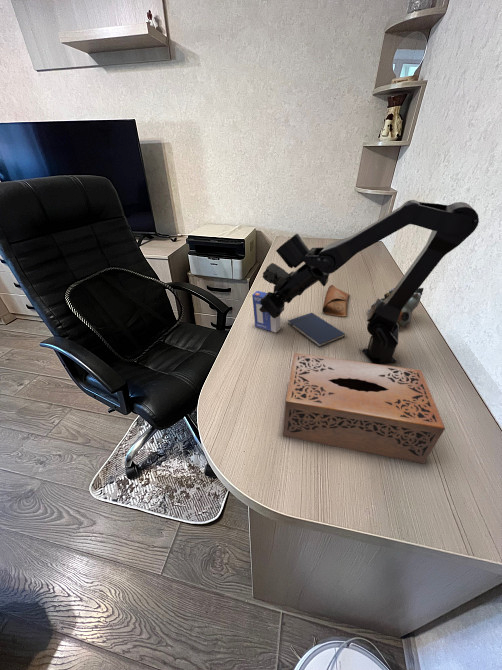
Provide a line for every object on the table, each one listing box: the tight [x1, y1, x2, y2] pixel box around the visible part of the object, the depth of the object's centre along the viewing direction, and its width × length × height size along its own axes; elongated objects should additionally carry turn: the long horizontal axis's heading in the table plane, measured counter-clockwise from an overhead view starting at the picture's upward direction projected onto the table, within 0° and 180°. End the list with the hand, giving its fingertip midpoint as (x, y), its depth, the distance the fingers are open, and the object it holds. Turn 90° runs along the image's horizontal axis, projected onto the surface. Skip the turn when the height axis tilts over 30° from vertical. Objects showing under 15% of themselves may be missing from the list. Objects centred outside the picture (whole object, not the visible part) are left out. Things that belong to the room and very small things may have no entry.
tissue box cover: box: [282, 352, 446, 464], centre depth 56 cm, size 26×14×10 cm, turn 77°
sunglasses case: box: [322, 284, 350, 318], centre depth 100 cm, size 18×7×7 cm
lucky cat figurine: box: [366, 287, 425, 328], centre depth 89 cm, size 15×12×14 cm
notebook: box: [287, 312, 346, 348], centre depth 87 cm, size 15×10×1 cm
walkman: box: [251, 290, 282, 333], centre depth 84 cm, size 8×3×12 cm, turn 57°
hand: (262, 308), depth 84 cm, fingers closed on walkman, 3 cm apart
